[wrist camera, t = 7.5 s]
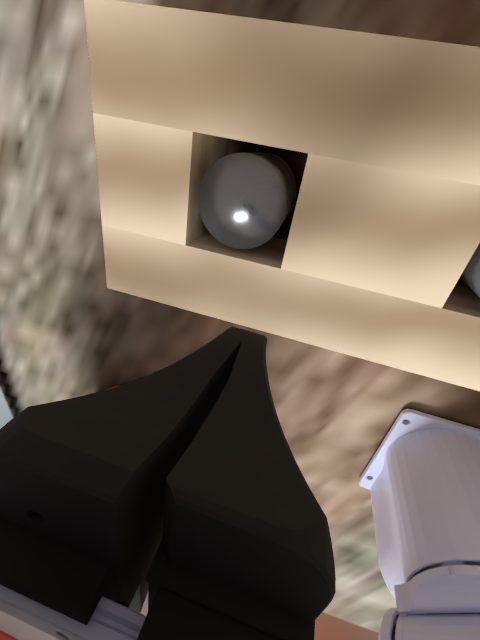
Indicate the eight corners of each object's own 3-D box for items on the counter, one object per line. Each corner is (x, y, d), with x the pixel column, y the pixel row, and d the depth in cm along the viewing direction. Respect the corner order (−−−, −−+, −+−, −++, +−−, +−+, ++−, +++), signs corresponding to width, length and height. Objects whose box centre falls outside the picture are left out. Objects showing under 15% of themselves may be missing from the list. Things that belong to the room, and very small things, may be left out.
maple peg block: (552, 364, 18) (619, 430, 14) (150, 261, 22) (107, 287, 17) (765, 127, 12) (1007, 114, 8) (151, 38, 15) (83, -4, 11)
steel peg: (286, 234, 18) (274, 257, 14) (223, 220, 19) (194, 238, 15) (304, 159, 16) (296, 162, 12) (232, 145, 17) (202, 144, 13)
